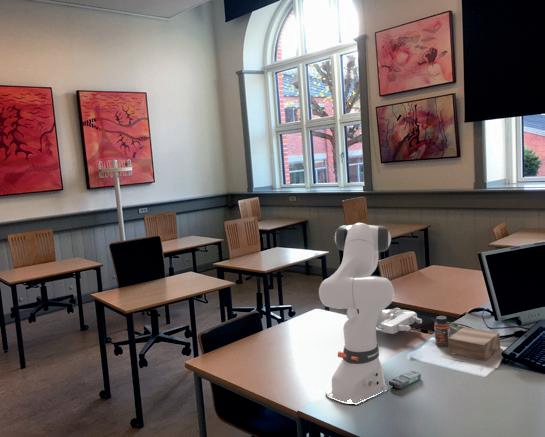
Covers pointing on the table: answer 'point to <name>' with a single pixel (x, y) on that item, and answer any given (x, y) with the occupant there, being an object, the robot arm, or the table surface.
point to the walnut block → (474, 343)
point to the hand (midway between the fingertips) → (415, 324)
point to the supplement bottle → (441, 331)
